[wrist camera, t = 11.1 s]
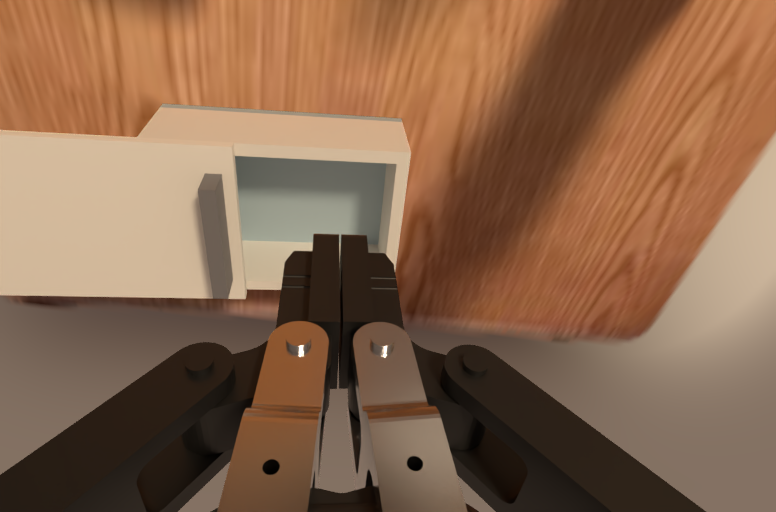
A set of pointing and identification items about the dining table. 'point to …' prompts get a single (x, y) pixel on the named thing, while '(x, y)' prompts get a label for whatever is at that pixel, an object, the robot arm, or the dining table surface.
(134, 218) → the lid
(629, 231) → the dining table surface
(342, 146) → the base
